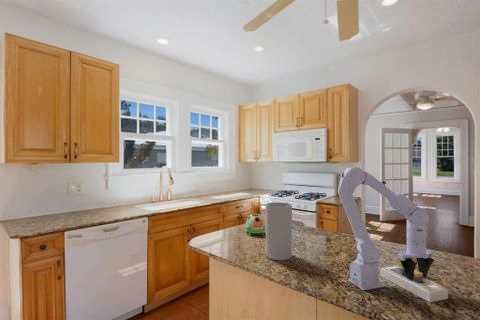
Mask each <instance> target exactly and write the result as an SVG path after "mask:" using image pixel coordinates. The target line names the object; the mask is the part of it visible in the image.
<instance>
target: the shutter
mask: <svg viewBox="0 0 480 320" xmlns="http://www.w3.org/2000/svg"><path fill="white" fill-rule="evenodd" d="M390 270H392V271H394V272H396V273H398V274H400V275H402V276H406V274H405V271H404V268H394V269H390Z"/></svg>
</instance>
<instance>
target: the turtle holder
mask: <svg viewBox="0 0 480 320" xmlns="http://www.w3.org/2000/svg"><path fill="white" fill-rule="evenodd" d="M245 222H246V223H245V233H246V234H248V236H250V237H251V236H252V234H261V236H262V235H265V232H266V222H265V220H264V219H263V217H262V216H261V214H257V213H251V214H250V215H249V216H247V219H246V221H245Z"/></svg>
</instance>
